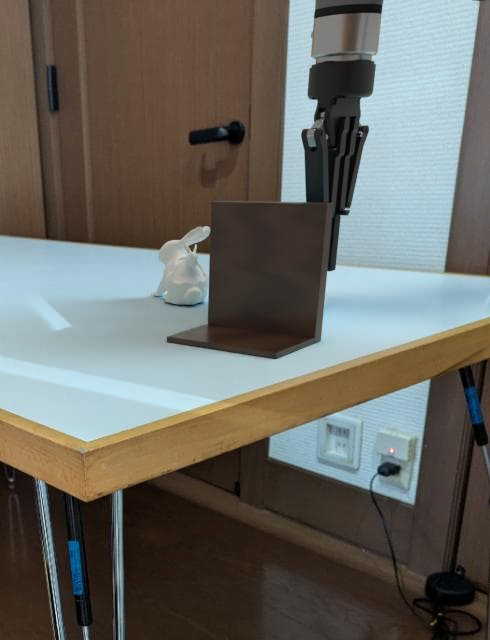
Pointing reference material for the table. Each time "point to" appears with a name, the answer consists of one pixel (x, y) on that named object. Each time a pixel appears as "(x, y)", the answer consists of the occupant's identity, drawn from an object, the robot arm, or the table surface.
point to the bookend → (265, 277)
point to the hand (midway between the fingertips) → (323, 269)
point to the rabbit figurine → (183, 270)
